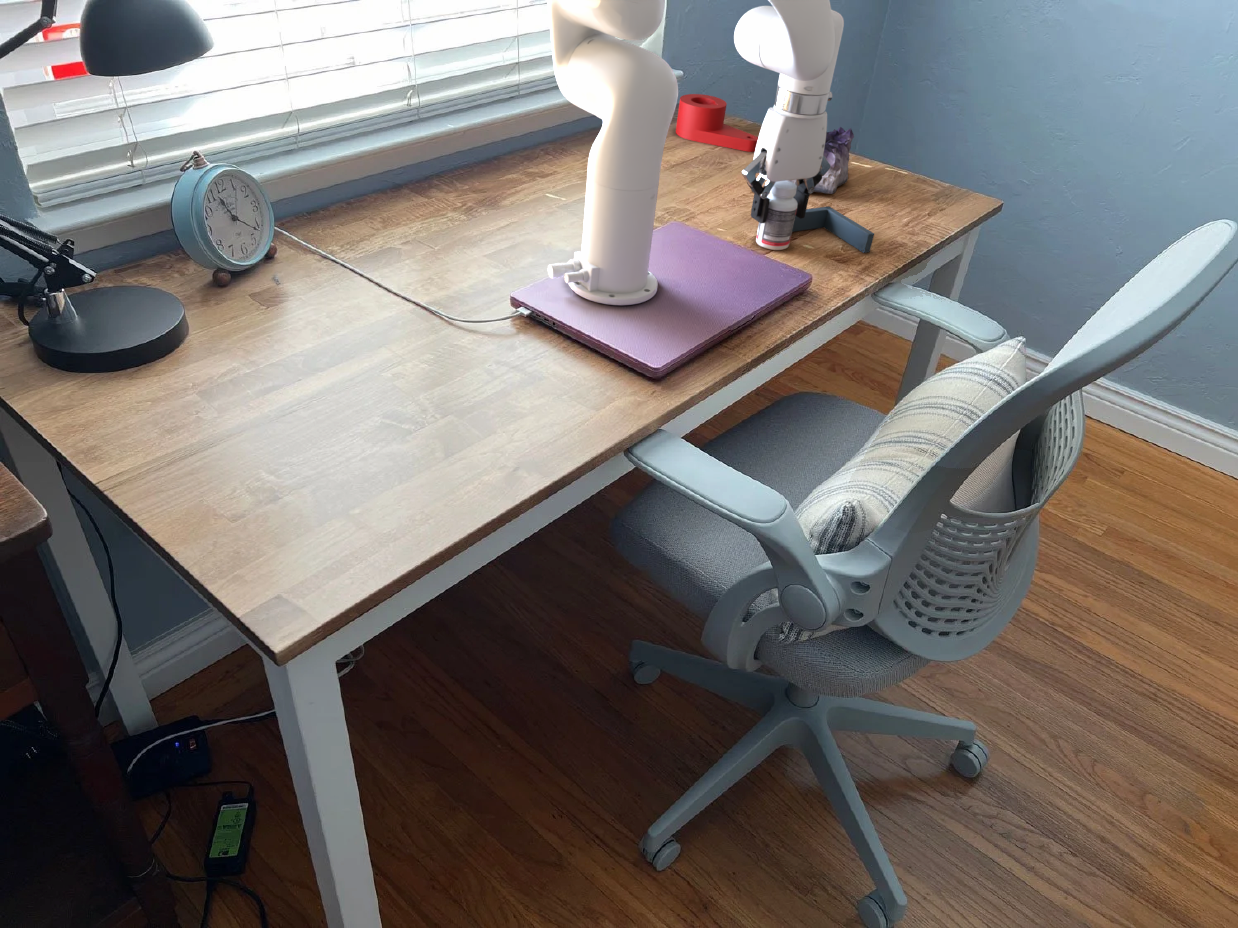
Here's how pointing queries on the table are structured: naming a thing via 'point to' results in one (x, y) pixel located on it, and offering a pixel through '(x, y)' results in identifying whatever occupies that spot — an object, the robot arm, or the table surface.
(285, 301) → the table surface
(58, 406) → the table surface
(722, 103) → the lever
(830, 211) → the corner
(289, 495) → the table surface
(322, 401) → the table surface
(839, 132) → the geode
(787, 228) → the pill bottle
